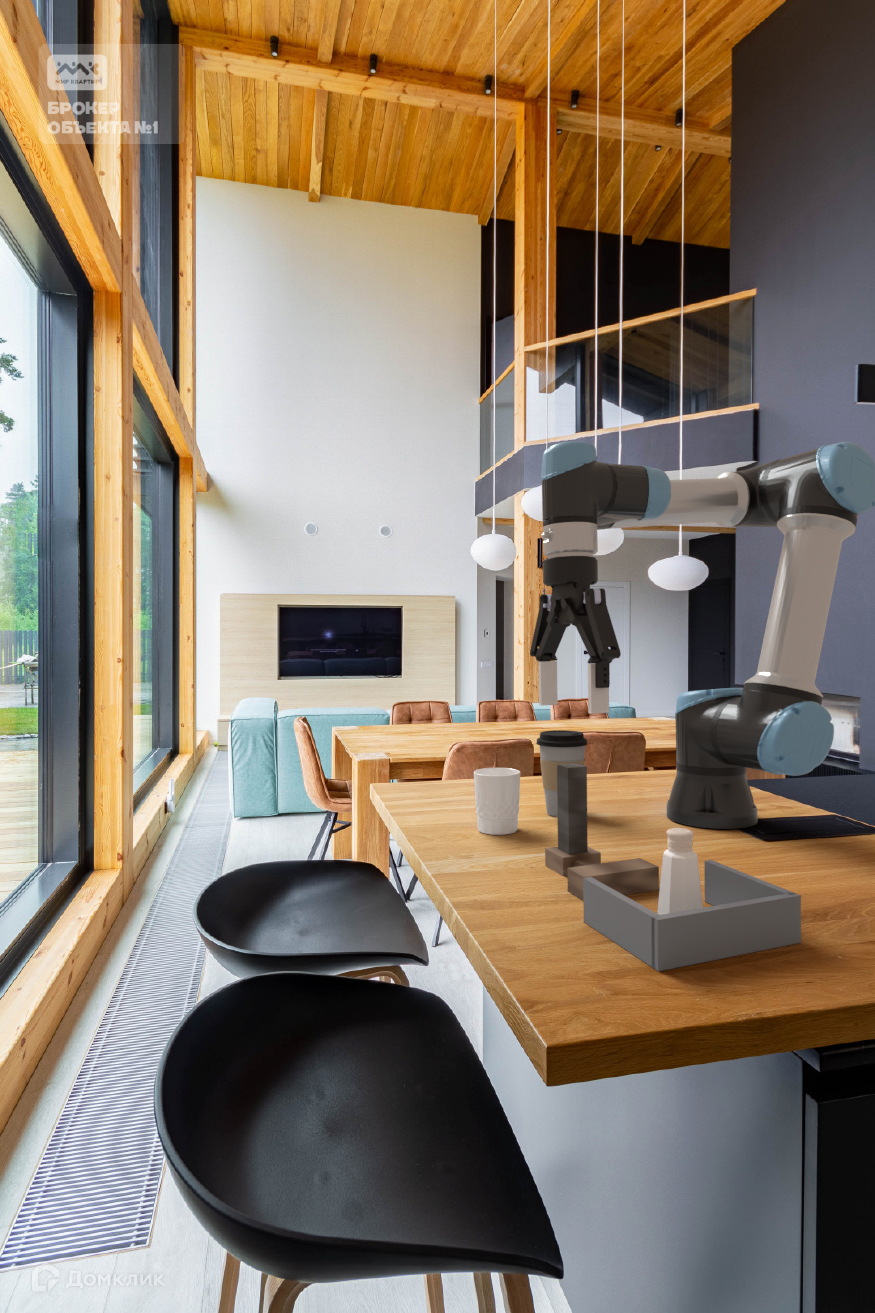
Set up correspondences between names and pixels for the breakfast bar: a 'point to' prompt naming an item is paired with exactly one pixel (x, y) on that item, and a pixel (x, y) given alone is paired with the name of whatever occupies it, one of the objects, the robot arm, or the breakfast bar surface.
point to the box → (698, 920)
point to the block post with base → (574, 848)
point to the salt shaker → (679, 874)
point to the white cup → (497, 800)
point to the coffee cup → (558, 760)
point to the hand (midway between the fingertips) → (571, 709)
